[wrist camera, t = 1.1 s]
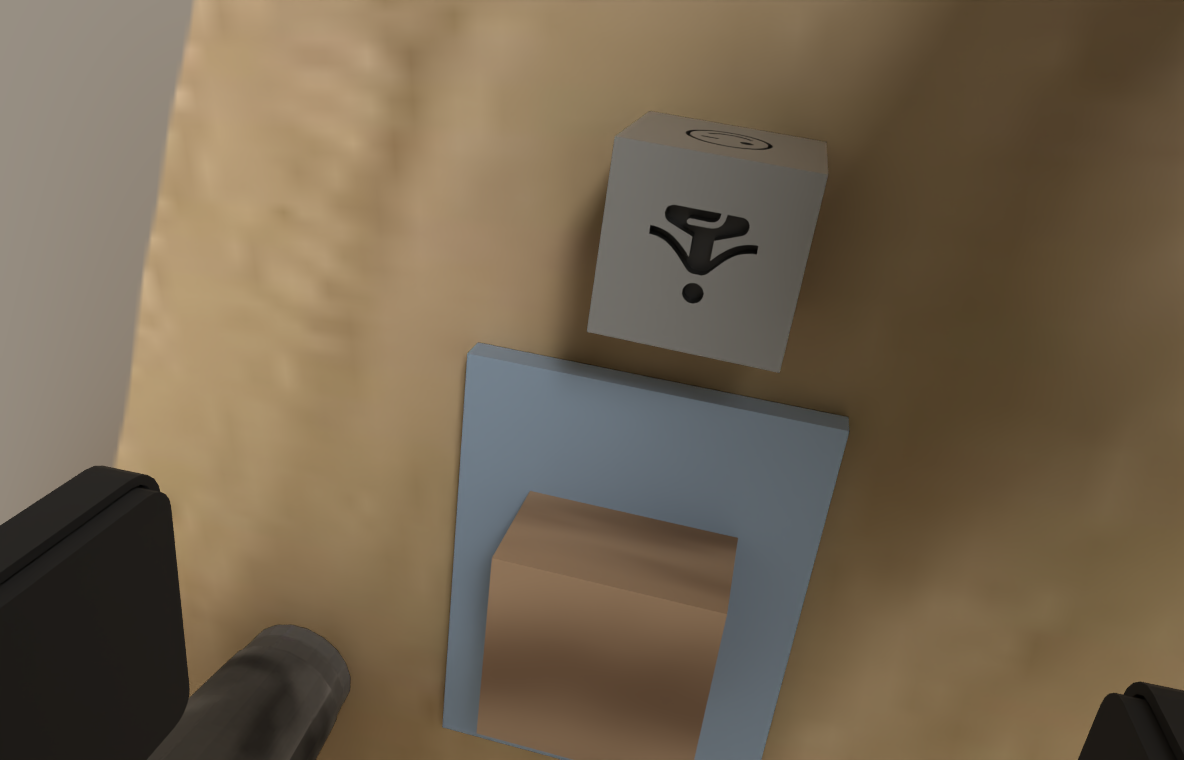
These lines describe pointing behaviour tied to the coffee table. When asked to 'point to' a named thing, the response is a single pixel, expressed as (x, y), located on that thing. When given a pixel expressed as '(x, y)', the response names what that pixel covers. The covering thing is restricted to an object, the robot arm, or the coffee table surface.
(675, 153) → the grey symbol cube
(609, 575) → the light brown plinth
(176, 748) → the beverage cup
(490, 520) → the blue board
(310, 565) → the coffee table surface
